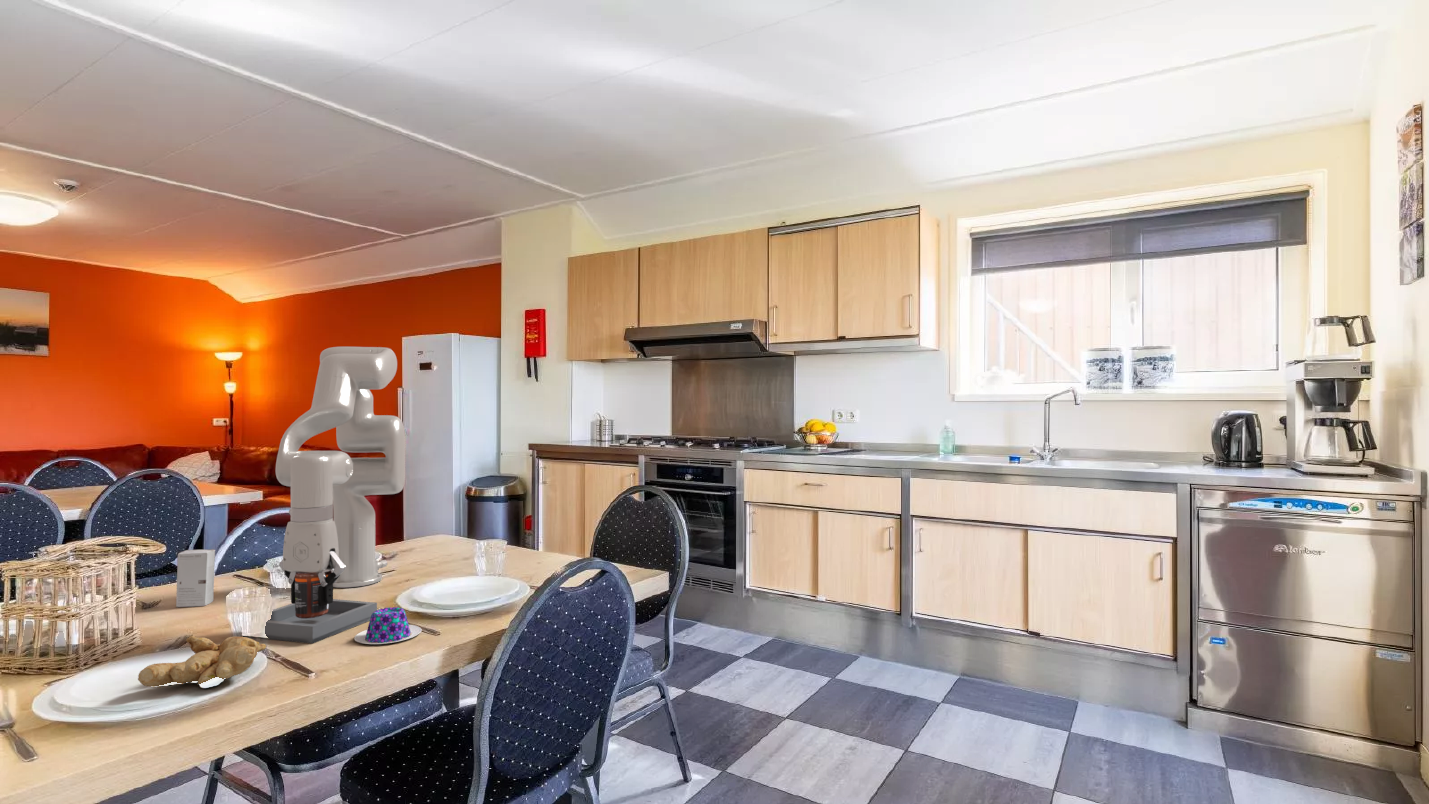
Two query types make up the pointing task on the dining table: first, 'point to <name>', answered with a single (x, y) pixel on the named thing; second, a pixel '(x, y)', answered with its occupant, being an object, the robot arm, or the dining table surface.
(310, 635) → the tray
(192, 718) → the dining table surface
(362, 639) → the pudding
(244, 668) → the ginger root
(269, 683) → the dining table surface
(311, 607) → the supplement bottle
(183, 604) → the skincare box
